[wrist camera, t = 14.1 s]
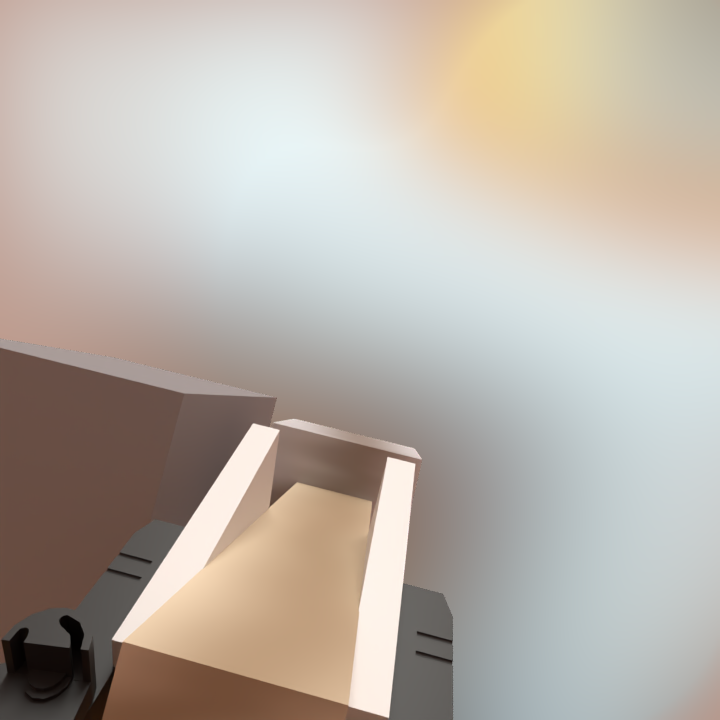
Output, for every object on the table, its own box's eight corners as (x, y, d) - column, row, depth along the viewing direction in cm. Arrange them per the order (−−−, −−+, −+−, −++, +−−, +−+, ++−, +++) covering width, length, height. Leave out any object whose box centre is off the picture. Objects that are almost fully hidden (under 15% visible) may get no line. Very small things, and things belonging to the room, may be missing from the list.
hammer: (-53, 847, 7) (56, 460, 7) (269, 520, 25) (294, 418, 25) (410, 995, 6) (501, 576, 7) (390, 551, 25) (414, 448, 25)
